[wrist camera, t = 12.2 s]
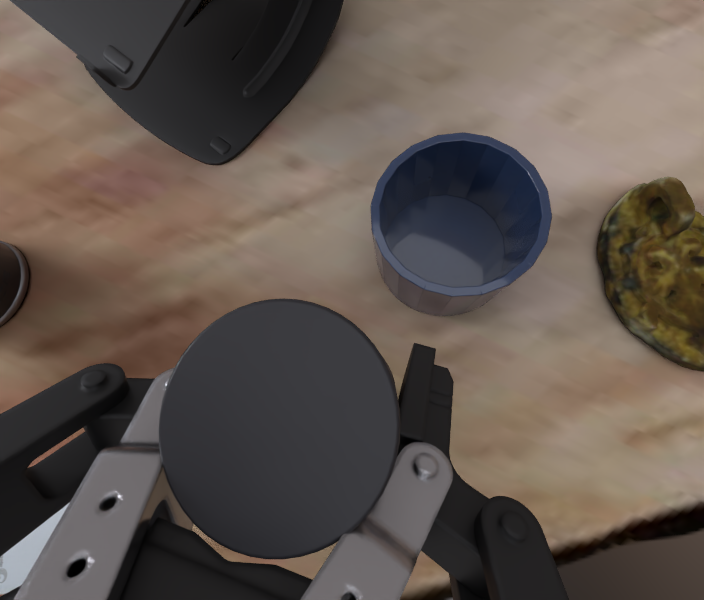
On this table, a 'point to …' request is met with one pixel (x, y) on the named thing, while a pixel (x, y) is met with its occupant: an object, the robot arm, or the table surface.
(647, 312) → the bronze pendant
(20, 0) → the laptop stand
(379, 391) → the canister
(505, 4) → the table surface
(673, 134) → the table surface
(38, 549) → the hard drive
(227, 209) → the table surface
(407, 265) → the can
